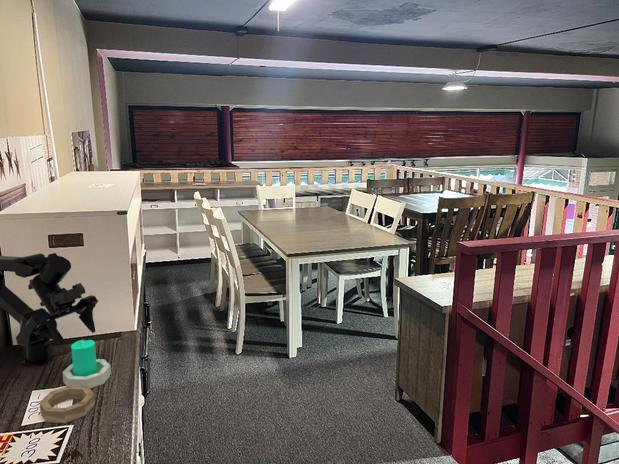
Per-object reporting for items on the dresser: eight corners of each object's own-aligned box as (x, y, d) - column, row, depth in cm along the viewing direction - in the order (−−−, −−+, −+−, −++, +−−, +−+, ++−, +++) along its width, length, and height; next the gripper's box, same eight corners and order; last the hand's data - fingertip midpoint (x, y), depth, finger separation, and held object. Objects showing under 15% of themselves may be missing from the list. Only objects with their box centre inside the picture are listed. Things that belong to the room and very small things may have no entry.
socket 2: (32, 421, 105) (31, 410, 105) (58, 395, 116) (57, 384, 115) (79, 423, 105) (78, 412, 105) (100, 396, 116) (100, 386, 116)
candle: (94, 383, 122) (92, 343, 119) (70, 385, 121) (67, 344, 118) (99, 372, 128) (97, 333, 125) (76, 374, 126) (74, 334, 124)
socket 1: (56, 388, 119) (55, 378, 118) (77, 367, 130) (77, 358, 129) (98, 390, 119) (97, 380, 118) (115, 369, 130) (115, 359, 129)
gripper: (28, 286, 113) (61, 336, 111) (92, 268, 130) (121, 311, 128) (12, 309, 118) (42, 357, 116) (75, 289, 135) (103, 331, 132)
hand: (79, 338), depth 123 cm, fingers open, 9 cm apart
